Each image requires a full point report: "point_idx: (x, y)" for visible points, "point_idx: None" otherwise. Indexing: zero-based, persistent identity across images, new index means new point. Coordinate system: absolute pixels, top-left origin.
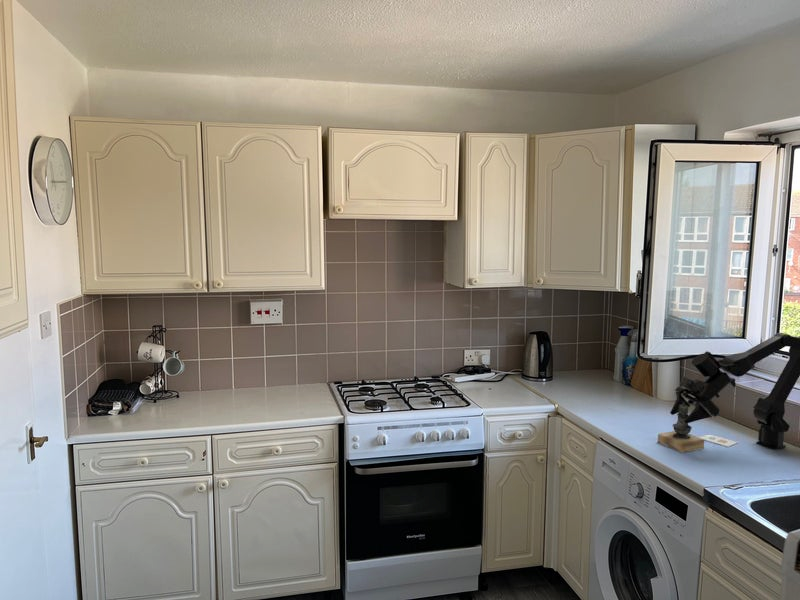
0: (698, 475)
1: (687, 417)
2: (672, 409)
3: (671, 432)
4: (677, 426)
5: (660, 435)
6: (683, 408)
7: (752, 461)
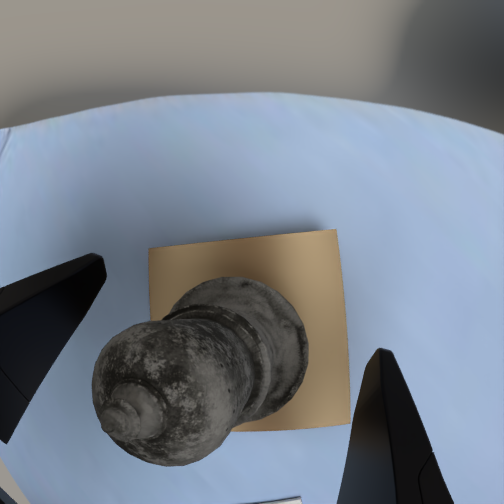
0: (34, 153)
1: (62, 271)
2: (392, 383)
3: (333, 342)
4: (224, 292)
5: (315, 231)
6: (115, 339)
7: (40, 432)
